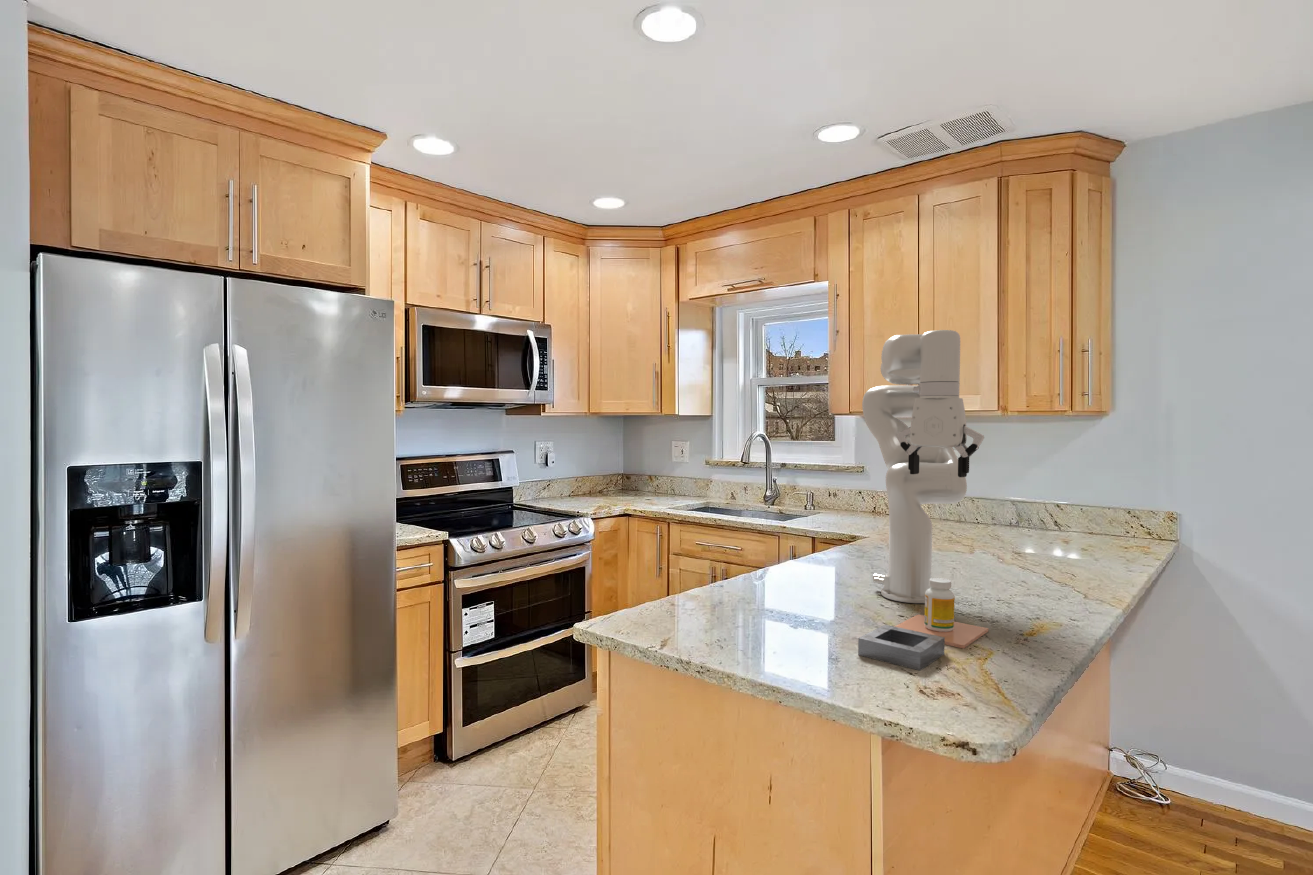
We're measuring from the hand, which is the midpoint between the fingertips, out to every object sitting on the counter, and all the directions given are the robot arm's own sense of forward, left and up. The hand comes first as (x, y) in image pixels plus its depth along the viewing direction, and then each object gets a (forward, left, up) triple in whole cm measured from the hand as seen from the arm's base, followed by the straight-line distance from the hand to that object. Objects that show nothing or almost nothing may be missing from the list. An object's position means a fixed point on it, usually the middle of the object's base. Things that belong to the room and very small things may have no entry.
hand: (937, 475), depth 141 cm
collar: (+3, -24, -30) cm, 39 cm away
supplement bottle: (+3, -6, -30) cm, 31 cm away
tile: (+3, -6, -30) cm, 31 cm away
